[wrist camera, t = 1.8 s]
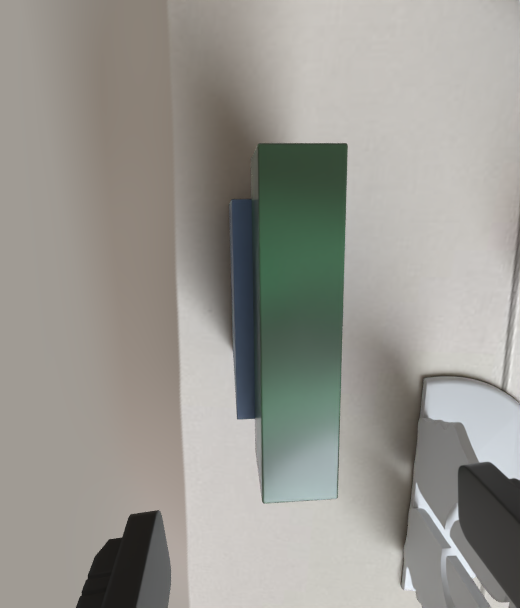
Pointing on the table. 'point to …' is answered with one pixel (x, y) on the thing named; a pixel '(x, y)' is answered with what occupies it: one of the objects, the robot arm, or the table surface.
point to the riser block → (242, 305)
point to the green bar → (298, 316)
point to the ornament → (455, 488)
